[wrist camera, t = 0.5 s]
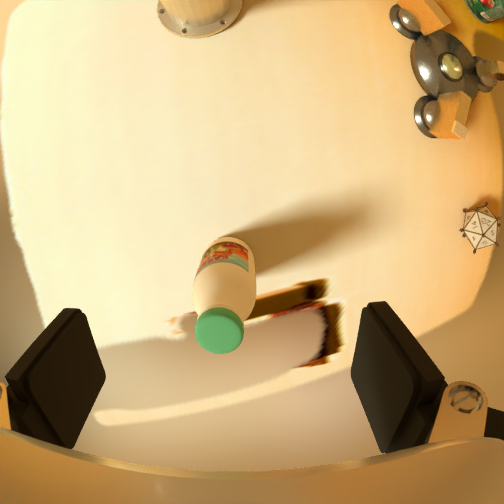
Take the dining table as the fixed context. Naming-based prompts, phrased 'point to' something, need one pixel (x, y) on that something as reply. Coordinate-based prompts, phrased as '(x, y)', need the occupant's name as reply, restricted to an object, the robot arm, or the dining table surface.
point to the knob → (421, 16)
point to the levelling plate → (439, 66)
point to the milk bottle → (224, 294)
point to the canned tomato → (486, 9)
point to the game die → (480, 227)
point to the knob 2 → (489, 72)
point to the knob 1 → (447, 115)
